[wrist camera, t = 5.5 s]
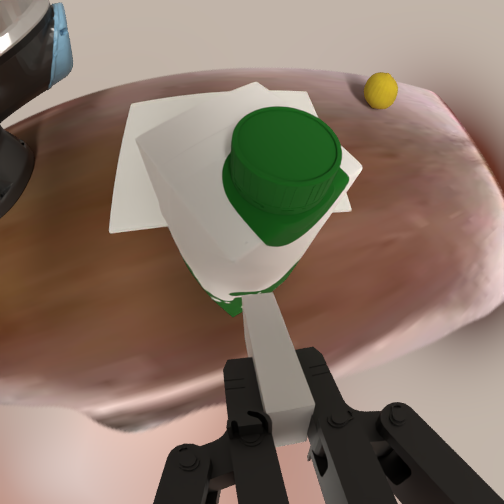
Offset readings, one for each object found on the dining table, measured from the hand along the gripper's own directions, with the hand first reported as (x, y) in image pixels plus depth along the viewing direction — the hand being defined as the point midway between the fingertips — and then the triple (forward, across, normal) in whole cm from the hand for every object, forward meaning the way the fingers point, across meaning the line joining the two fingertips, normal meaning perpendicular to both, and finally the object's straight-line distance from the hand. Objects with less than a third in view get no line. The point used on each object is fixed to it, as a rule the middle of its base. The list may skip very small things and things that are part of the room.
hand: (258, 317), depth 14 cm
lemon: (+33, +26, +14) cm, 44 cm away
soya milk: (+14, 0, -5) cm, 15 cm away
